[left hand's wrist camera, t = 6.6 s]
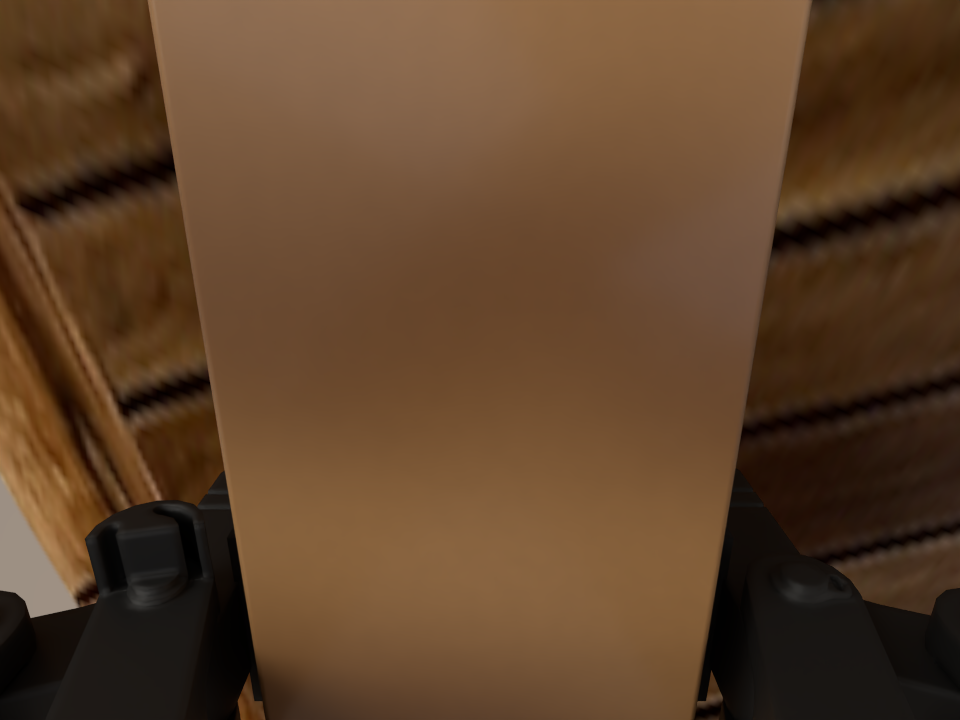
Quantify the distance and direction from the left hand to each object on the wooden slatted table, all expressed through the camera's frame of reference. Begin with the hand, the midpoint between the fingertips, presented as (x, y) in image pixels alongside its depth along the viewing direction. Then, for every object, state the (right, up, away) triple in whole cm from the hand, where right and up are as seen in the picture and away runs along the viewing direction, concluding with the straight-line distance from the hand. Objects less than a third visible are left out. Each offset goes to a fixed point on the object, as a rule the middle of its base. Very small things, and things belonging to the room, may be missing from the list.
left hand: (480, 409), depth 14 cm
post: (0, -19, +8) cm, 20 cm away
